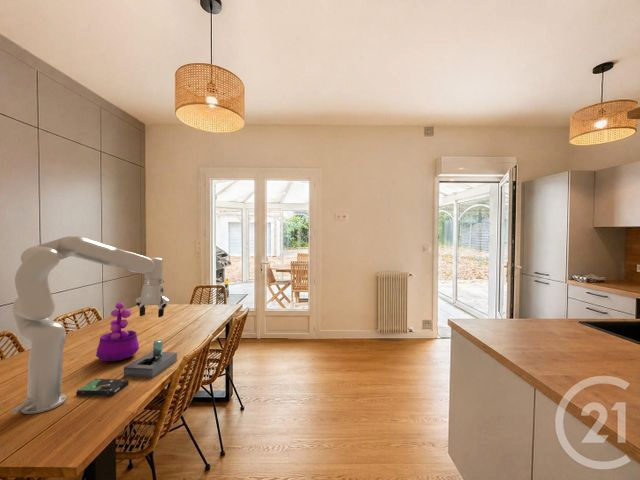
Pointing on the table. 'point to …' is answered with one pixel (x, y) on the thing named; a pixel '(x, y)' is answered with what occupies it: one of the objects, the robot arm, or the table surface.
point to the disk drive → (102, 387)
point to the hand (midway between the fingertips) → (151, 316)
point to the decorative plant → (118, 338)
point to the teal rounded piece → (157, 350)
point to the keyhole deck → (150, 371)
